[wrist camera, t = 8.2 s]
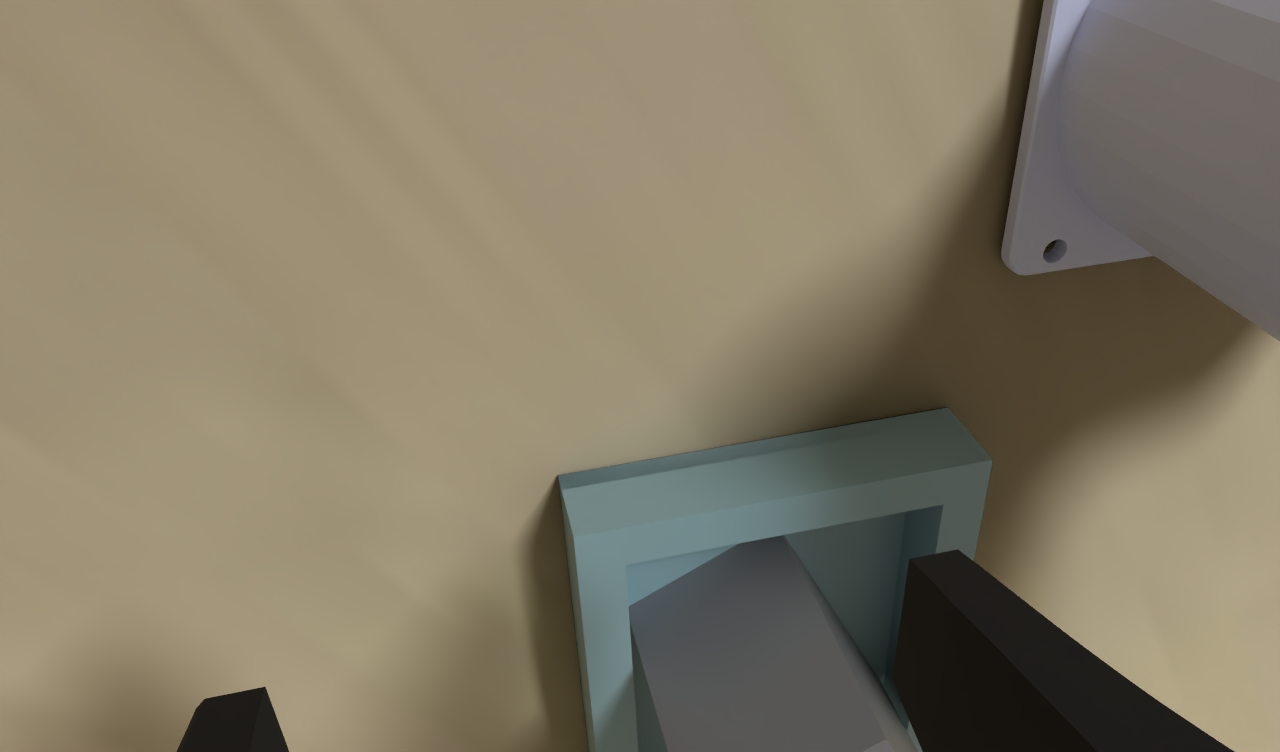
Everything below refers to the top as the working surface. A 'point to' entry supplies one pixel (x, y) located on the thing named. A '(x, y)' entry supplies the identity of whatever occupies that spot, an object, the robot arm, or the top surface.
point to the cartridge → (759, 661)
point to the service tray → (757, 509)
